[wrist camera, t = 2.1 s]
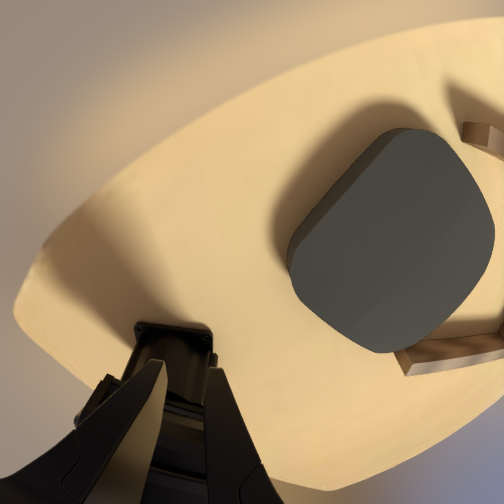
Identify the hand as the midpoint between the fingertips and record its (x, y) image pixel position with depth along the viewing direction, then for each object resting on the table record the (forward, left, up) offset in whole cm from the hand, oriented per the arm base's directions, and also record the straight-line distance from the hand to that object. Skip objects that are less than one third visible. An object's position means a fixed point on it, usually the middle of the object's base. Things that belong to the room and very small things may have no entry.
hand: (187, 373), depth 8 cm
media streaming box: (+13, 0, -13) cm, 18 cm away
